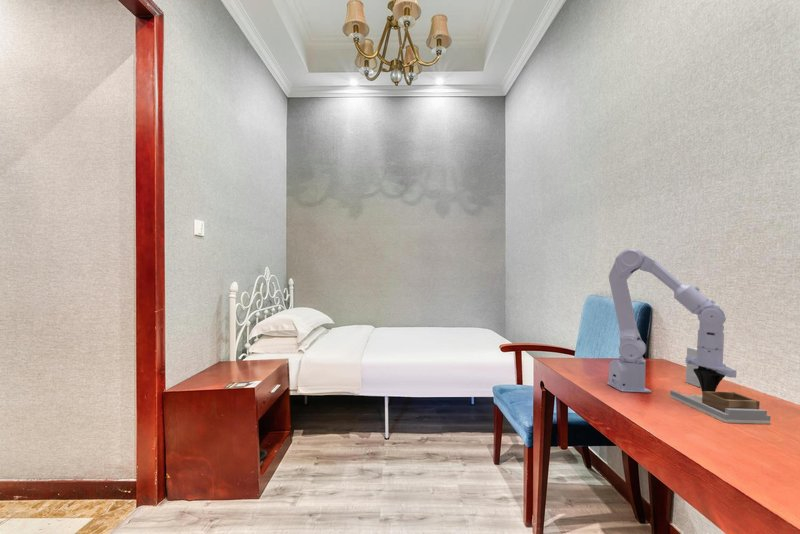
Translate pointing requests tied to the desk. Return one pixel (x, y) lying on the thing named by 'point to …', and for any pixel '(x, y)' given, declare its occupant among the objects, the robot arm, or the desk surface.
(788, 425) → the desk surface
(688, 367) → the skincare box
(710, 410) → the bay
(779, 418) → the desk surface
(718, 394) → the crate
